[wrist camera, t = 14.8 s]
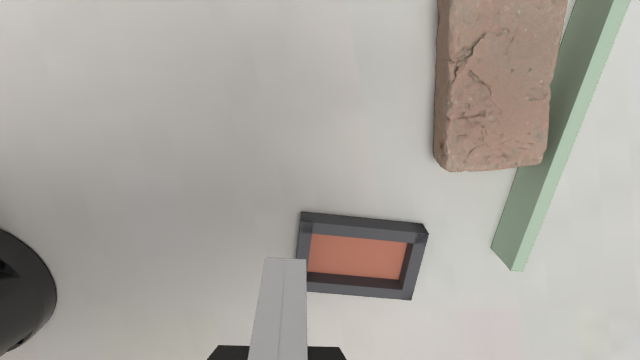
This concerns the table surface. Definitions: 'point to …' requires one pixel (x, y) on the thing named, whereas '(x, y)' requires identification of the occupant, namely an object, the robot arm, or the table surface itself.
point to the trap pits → (361, 255)
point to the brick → (494, 82)
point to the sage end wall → (559, 125)
